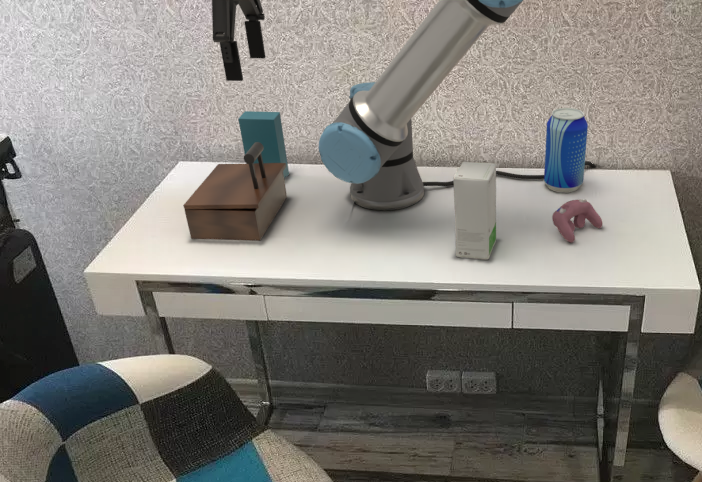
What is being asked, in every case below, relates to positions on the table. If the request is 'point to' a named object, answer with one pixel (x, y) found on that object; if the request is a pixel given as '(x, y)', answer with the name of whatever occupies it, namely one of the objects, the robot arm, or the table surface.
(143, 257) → the table surface
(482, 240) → the cosmetic box
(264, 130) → the block
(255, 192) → the lid
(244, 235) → the chest
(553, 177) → the beer can
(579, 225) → the video game controller
